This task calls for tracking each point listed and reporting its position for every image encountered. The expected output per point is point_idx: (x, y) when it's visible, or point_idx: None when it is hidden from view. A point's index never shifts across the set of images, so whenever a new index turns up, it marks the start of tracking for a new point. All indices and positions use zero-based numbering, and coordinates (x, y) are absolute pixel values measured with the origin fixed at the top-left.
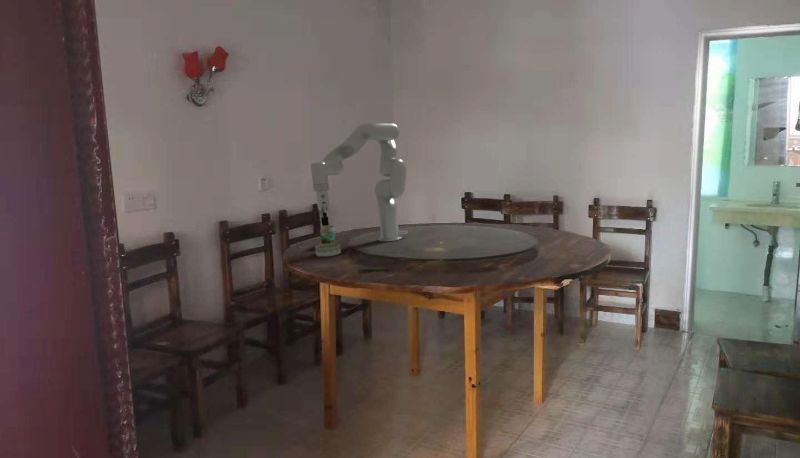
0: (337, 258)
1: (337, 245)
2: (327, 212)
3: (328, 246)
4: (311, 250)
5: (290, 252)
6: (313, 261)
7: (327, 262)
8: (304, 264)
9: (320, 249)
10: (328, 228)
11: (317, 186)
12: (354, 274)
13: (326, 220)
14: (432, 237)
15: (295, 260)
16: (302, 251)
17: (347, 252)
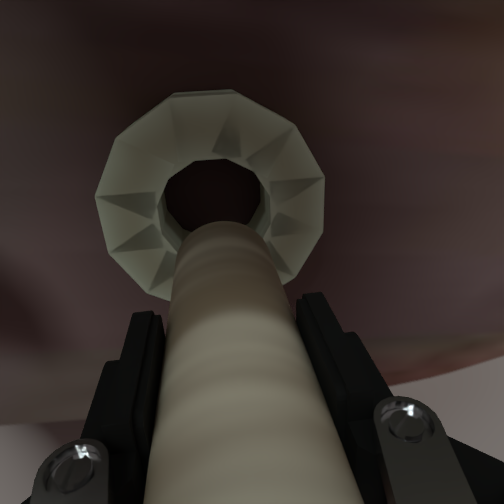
0: (433, 140)
1: (268, 126)
2: (318, 500)
3: (159, 202)
4: (5, 309)
5: (17, 422)
6: (399, 291)
7: (498, 213)
8: (437, 333)
9: (296, 270)
10: (268, 269)
11: None
12: None
13: (374, 371)
14: None
15: None
16: (16, 361)
17: (261, 30)
